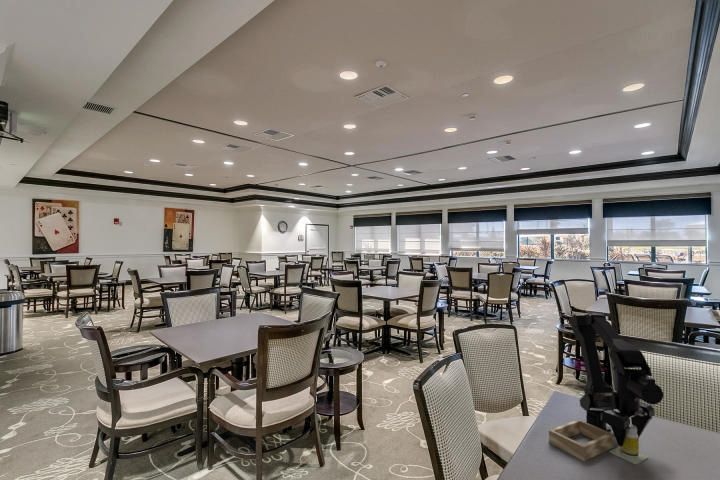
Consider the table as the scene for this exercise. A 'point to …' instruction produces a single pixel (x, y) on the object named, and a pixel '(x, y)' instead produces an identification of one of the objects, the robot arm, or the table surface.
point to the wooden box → (583, 452)
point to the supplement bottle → (631, 443)
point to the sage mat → (632, 460)
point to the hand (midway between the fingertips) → (628, 441)
